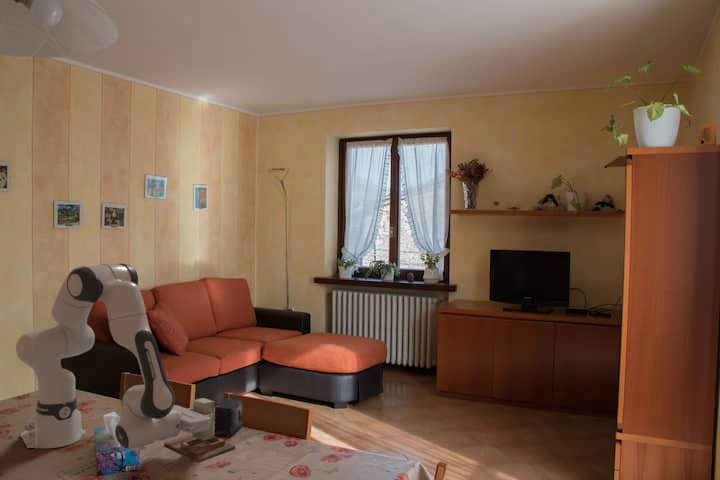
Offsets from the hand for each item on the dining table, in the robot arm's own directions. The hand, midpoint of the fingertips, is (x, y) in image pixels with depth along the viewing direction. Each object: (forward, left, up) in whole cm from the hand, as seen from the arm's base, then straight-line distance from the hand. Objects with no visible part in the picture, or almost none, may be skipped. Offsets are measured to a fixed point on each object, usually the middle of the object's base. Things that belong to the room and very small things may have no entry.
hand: (205, 412), depth 193 cm
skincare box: (0, -1, -8) cm, 8 cm away
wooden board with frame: (-2, -1, -12) cm, 12 cm away
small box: (-6, +14, -12) cm, 20 cm away
